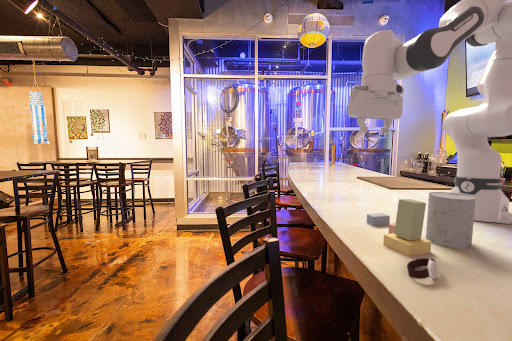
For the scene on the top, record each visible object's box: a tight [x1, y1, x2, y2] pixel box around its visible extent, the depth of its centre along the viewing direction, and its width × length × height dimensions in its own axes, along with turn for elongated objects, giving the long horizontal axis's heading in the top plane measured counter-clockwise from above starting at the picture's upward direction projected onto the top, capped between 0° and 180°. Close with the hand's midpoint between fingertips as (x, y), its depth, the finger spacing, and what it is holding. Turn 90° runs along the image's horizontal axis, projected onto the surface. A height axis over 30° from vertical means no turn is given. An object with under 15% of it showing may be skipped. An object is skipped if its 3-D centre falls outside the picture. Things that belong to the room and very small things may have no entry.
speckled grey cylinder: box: [425, 191, 476, 250], centre depth 62 cm, size 10×10×12 cm
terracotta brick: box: [388, 221, 396, 234], centre depth 68 cm, size 6×3×3 cm, turn 120°
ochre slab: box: [382, 233, 432, 257], centre depth 58 cm, size 7×7×3 cm
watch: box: [406, 257, 439, 280], centre depth 46 cm, size 8×5×4 cm, turn 127°
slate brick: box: [366, 212, 391, 226], centre depth 77 cm, size 6×3×3 cm, turn 99°
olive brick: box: [394, 198, 427, 241], centre depth 58 cm, size 4×4×9 cm
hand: (374, 133), depth 74 cm, fingers open, 8 cm apart
